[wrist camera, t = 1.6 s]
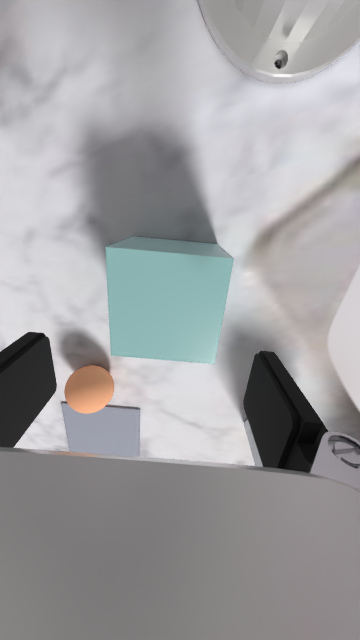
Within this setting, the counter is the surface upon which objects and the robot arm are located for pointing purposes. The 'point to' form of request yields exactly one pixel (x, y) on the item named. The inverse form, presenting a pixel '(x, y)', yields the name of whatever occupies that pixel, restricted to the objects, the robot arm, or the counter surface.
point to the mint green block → (166, 298)
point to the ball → (89, 389)
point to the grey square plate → (103, 430)
